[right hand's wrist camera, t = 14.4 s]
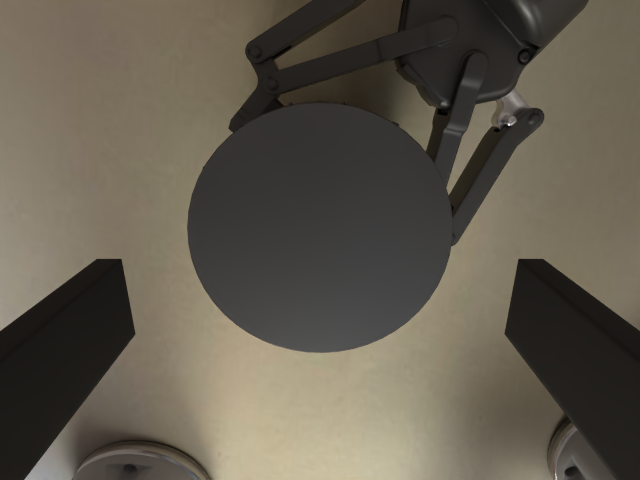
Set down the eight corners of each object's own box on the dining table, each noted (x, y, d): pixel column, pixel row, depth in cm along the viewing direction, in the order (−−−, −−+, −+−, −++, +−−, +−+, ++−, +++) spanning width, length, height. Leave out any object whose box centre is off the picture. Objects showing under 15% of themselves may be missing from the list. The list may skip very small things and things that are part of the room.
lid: (172, 289, 20) (159, 307, 19) (241, 57, 17) (232, 53, 15) (380, 359, 22) (385, 381, 20) (486, 160, 18) (503, 167, 16)
